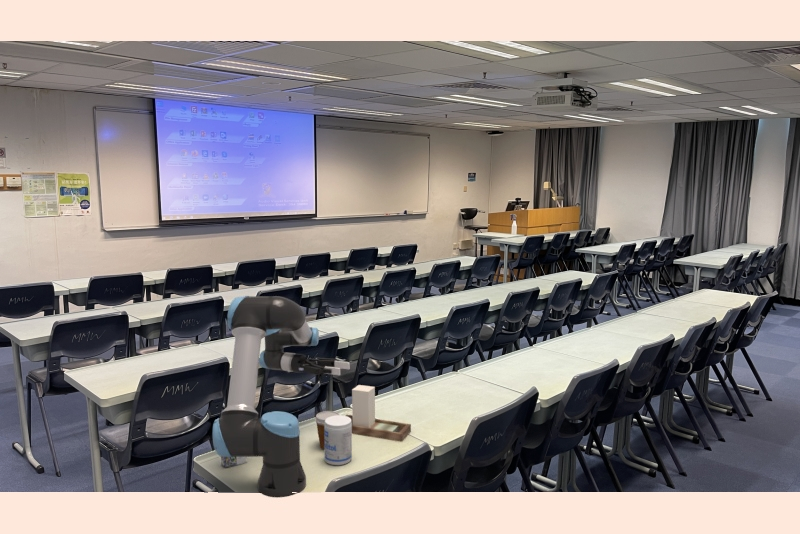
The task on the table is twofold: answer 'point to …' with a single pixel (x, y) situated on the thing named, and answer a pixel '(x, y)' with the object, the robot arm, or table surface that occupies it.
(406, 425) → the trap track
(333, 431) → the supplement tub
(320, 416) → the disposable coffee cup
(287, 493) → the robot arm
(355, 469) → the table surface
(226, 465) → the ink box
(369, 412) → the block
